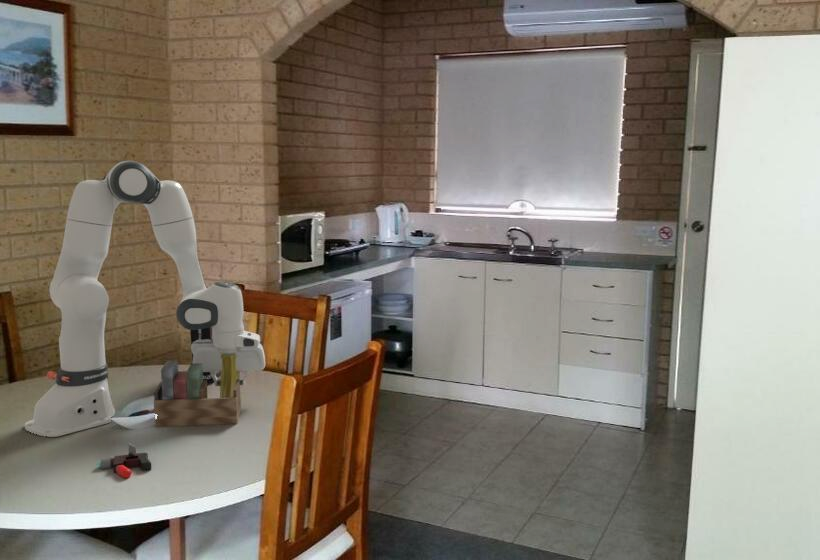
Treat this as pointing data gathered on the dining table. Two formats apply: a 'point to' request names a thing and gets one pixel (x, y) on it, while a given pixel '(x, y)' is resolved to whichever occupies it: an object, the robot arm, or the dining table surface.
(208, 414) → the wooden desk organizer
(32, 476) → the dining table surface
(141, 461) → the toy gun
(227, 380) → the vase
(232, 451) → the dining table surface
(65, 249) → the robot arm
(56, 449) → the dining table surface
